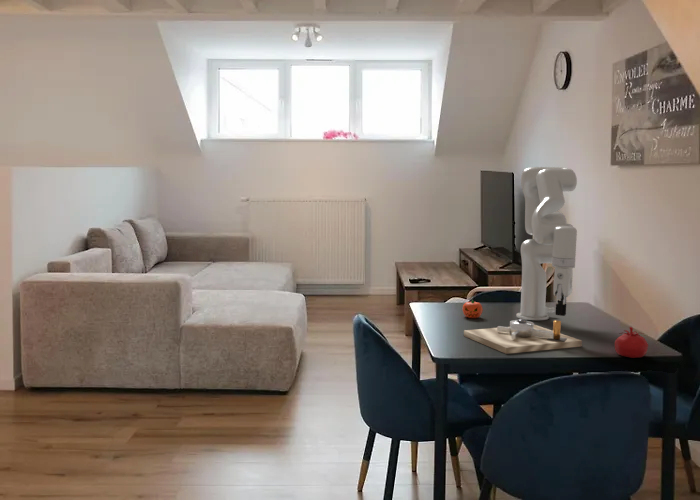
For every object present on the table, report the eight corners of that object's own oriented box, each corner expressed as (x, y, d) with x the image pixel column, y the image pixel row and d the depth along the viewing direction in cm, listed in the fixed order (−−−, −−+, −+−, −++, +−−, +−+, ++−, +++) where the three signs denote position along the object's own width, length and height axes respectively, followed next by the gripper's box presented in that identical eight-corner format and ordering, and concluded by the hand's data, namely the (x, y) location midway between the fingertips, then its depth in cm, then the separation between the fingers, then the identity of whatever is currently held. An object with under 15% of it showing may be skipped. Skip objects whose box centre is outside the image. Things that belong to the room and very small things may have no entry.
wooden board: (534, 330, 262) (534, 324, 262) (581, 346, 238) (581, 340, 238) (463, 335, 251) (463, 329, 251) (505, 353, 227) (506, 347, 227)
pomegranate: (630, 361, 221) (632, 332, 219) (607, 353, 230) (608, 325, 228) (654, 358, 225) (656, 329, 223) (630, 350, 234) (632, 322, 232)
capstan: (489, 335, 242) (489, 318, 241) (505, 326, 256) (506, 310, 255) (552, 344, 230) (553, 325, 230) (566, 334, 245) (567, 317, 244)
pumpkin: (463, 315, 288) (464, 297, 288) (483, 316, 286) (484, 298, 285) (460, 318, 281) (461, 300, 280) (480, 320, 279) (481, 301, 278)
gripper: (571, 266, 234) (568, 320, 237) (578, 260, 247) (575, 311, 250) (548, 264, 237) (545, 318, 240) (556, 258, 250) (553, 309, 253)
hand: (560, 314), depth 245 cm, fingers closed
